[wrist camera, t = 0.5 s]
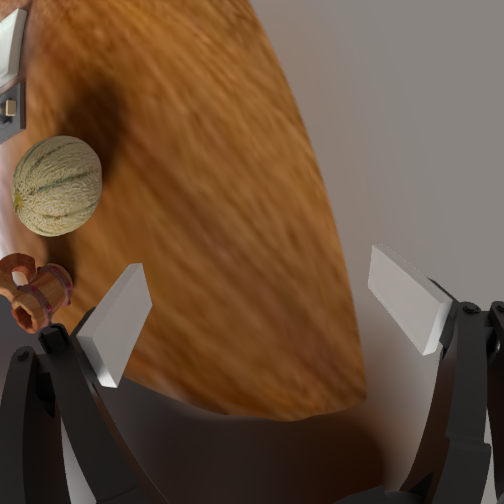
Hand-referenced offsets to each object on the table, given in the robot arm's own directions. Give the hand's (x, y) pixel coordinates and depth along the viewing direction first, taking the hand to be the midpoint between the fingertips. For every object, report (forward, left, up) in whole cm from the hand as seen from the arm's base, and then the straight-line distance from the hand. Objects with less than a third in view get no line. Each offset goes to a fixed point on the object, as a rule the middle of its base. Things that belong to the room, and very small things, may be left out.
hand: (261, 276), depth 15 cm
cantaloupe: (-8, -27, -28) cm, 39 cm away
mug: (+7, -39, -28) cm, 48 cm away
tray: (-43, -51, -27) cm, 72 cm away
